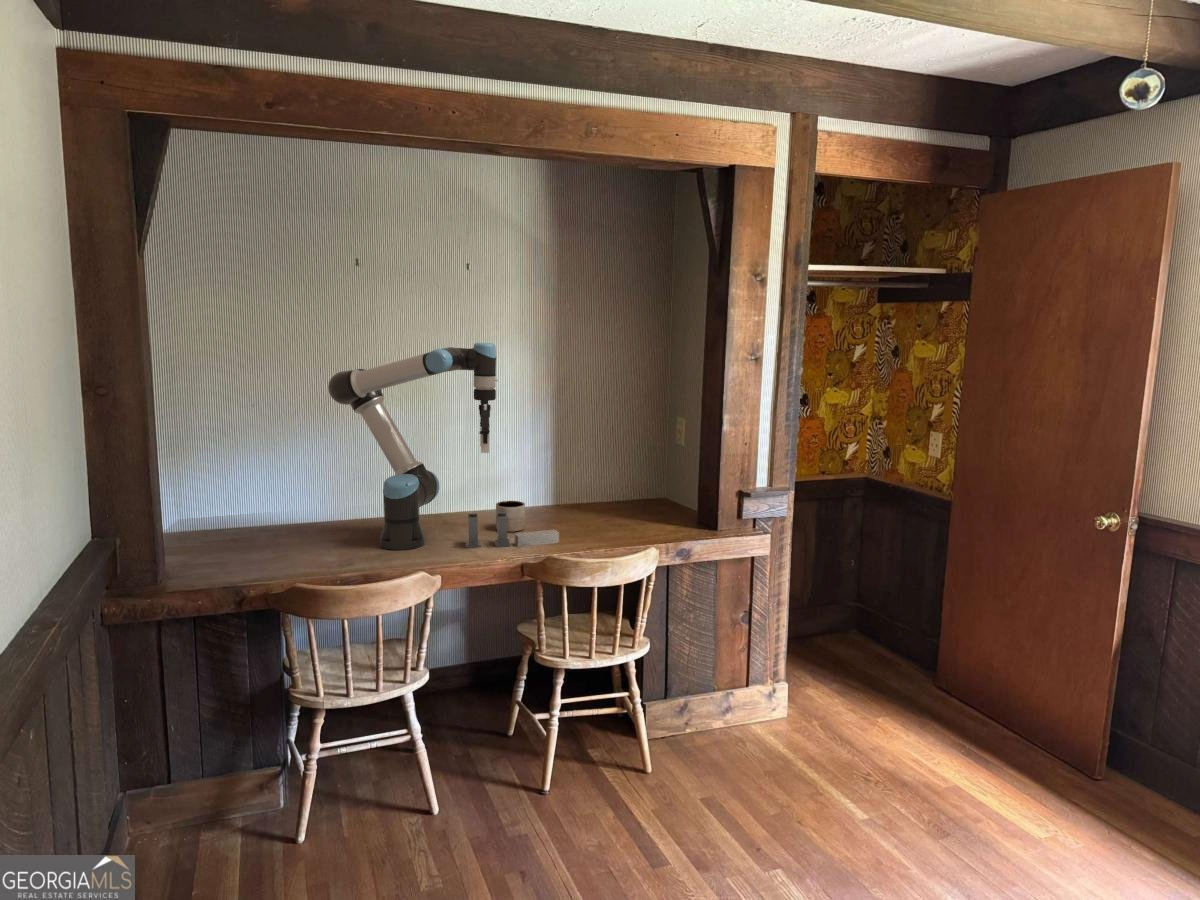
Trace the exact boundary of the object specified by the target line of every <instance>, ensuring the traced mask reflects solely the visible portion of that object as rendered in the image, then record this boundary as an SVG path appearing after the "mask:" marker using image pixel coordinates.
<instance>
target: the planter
mask: <svg viewBox="0 0 1200 900" xmlns="http://www.w3.org/2000/svg"><path fill="white" fill-rule="evenodd" d="M525 504H526V503H525V502H522V501H519V500H502V501H499V502H496V503H495V529H496V530H497V531H498V524H497V513H506V517H507V533H519V532H520V531H524V530H525V528H526V505H525Z"/></svg>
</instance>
